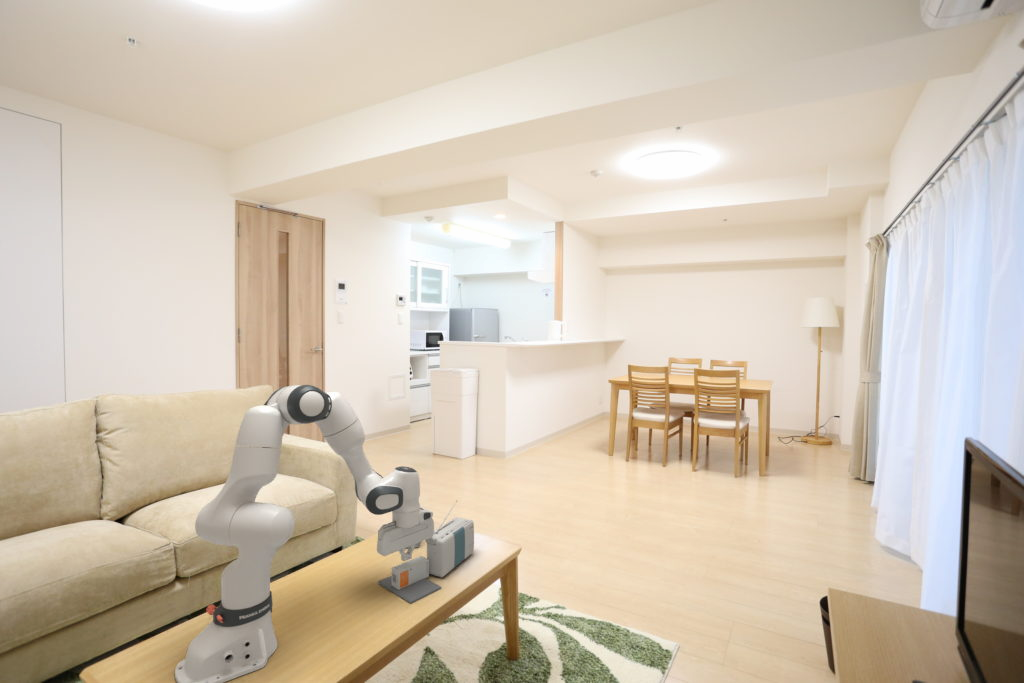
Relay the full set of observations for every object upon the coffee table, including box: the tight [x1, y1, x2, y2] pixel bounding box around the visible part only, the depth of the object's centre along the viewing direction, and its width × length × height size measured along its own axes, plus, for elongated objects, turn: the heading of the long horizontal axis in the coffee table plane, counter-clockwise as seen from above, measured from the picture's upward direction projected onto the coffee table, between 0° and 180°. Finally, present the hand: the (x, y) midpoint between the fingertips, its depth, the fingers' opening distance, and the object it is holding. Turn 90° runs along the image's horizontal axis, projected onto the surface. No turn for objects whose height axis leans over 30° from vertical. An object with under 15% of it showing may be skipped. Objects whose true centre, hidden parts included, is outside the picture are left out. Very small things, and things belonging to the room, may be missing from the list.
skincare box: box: [391, 555, 430, 590], centre depth 163 cm, size 6×4×12 cm
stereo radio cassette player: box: [424, 500, 475, 579], centre depth 175 cm, size 21×8×20 cm, turn 154°
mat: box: [377, 575, 442, 605], centre depth 161 cm, size 12×18×1 cm, turn 48°
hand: (406, 559), depth 160 cm, fingers closed
